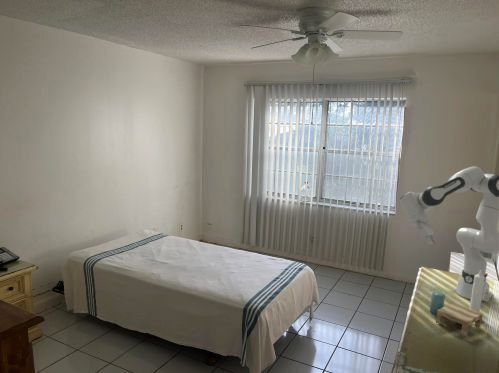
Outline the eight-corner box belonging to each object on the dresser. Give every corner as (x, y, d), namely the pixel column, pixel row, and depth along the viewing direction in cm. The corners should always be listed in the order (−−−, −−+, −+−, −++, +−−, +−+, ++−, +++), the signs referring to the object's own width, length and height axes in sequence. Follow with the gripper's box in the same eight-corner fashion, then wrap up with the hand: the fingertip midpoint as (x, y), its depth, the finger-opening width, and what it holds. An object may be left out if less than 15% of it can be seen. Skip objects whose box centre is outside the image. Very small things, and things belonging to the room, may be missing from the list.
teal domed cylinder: (433, 308, 203) (435, 290, 202) (444, 313, 198) (447, 295, 197) (427, 311, 199) (429, 293, 198) (438, 316, 195) (441, 297, 193)
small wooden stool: (451, 315, 197) (453, 302, 195) (480, 327, 186) (482, 313, 184) (435, 323, 187) (437, 309, 186) (465, 336, 176) (467, 322, 175)
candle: (483, 320, 192) (491, 273, 189) (468, 318, 194) (475, 271, 190) (478, 314, 199) (485, 268, 195) (463, 312, 201) (470, 267, 197)
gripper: (421, 218, 195) (435, 242, 191) (428, 217, 212) (441, 240, 208) (410, 223, 198) (423, 247, 194) (417, 222, 215) (430, 245, 211)
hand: (433, 244), depth 201 cm, fingers open, 8 cm apart
